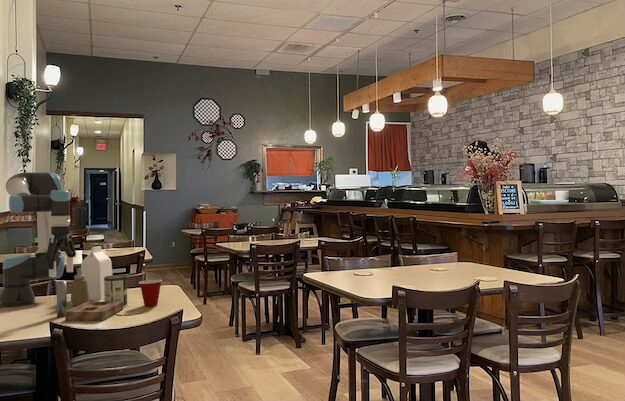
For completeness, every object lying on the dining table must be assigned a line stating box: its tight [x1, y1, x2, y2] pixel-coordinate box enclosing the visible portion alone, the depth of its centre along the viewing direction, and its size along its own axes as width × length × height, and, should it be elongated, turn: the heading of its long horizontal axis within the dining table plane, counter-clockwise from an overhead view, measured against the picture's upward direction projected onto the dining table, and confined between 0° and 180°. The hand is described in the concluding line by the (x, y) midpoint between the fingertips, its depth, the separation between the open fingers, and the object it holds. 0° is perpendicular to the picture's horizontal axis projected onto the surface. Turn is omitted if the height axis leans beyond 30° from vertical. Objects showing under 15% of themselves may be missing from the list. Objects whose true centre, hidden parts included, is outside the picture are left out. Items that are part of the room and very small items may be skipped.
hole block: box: [64, 300, 124, 322], centre depth 223 cm, size 16×20×4 cm
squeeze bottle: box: [70, 267, 89, 307], centre depth 243 cm, size 8×8×18 cm
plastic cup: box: [138, 279, 163, 308], centre depth 242 cm, size 11×11×12 cm
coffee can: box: [104, 274, 128, 308], centre depth 241 cm, size 10×10×14 cm
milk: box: [80, 245, 113, 301], centre depth 262 cm, size 12×12×26 cm
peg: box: [55, 280, 68, 318], centre depth 222 cm, size 4×4×15 cm
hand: (61, 274), depth 221 cm, fingers open, 13 cm apart
